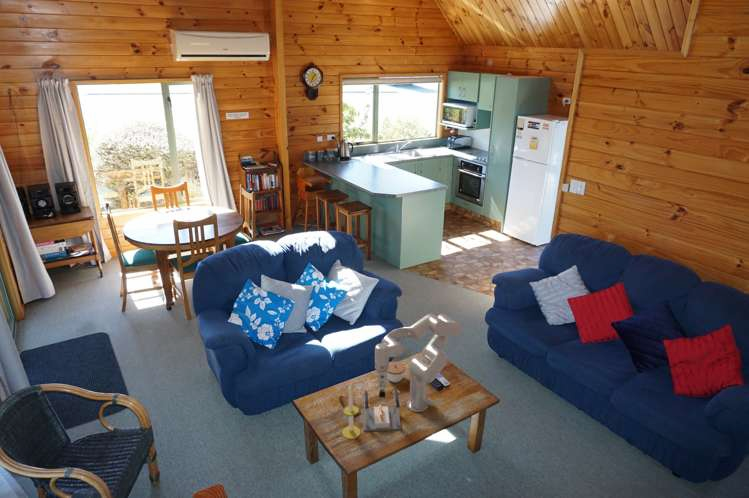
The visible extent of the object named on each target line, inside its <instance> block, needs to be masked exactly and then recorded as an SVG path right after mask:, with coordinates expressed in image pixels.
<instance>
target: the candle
mask: <svg viewBox="0 0 749 498" xmlns="http://www.w3.org/2000/svg"><path fill="white" fill-rule="evenodd" d="M353 393H354V392H353V386H352V383H350V384H349V386H348V397H349V405H347V406H345V407H343V409H342V412H343V413H344V415H346V416H348V415H349V416H348V426H346V427H345V428H343V430H342V436H343V437H344V438H346V439H349V440H352V439H353V440H354V439H357V438H358V437H360V436H361V429H360V428H359V427H358V426H356V425H354V422H355V421H354V418H355V417H353V415H355V414H357V413H358V411H359V410H360V409H359V407H358V405H357V406H355V405H353V399H354V398H353V397H354V396H353V395H354V394H353Z"/></svg>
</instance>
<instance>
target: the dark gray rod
mask: <svg viewBox="0 0 749 498" xmlns="http://www.w3.org/2000/svg"><path fill="white" fill-rule="evenodd" d="M394 393H395V398H396V406H397V408H399V407H400V402H399V401H400V400H399V394H398V390H397V389H394ZM400 408H401V407H400Z"/></svg>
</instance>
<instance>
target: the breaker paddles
mask: <svg viewBox="0 0 749 498" xmlns="http://www.w3.org/2000/svg"><path fill="white" fill-rule="evenodd" d="M378 407H379V409H380V418H381V420H382V419H383V415H382V407H383V406H382V404H379V405H378Z"/></svg>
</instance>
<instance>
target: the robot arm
mask: <svg viewBox="0 0 749 498" xmlns="http://www.w3.org/2000/svg"><path fill="white" fill-rule="evenodd" d="M461 330H462V327H461V324H460V323H459V322H457V321H455V320H454V319H452V318H451V317H449V315H446V314H444V313H440V314H438V315H436V314H433V313H427V314H426V315H424V316H423V317H422V318H420V319H418V320H417V321H416V322H415V323H413V324H411V325H409V326H404V327H403V326H402V327H400V328H399V327H397V328H395V329H393V330H391V331H390V332H388V333H387V334H386V335H385V336H384V337H383V338H382V340H381V343H377V344H376V345H375V347H374V368H375V371H376V374H377V375H376V379H377V383H378V384H377V387H378V388H379V391H378V393H379V394H378V396H379V398H386V388H387V387H388V378H387V370H388V369H389V362H390V358H396V357H397V358H398V357H400V356H402V355H403V354H404V352H405V348H404V345H403V344H402V343H400V342H399V340H402V339H411V340H420V339H422V338H423V337H424V336H426V335H427V334H428V333H430V332H432V333H433V336H432V337H431V338H430V340H429V341H428V342H427V344H426V345H425V346H424V348H423V349H422V352H421V353H422V356H423V357H424V358H425V359H426V360H427V361H428V362H427V361H426V360H424V359H423V358H421V357H418V356H416V357H412V358H411V360H410V361H409V364H408V371H409V378H410V379H409V381H410V382H409V398H408V400H407V401H406V407H407V409H409V410H410V411H411V412H415V413H421V412H425V411H426V410H427V409H428V408H429V405H434V404H435V403H434V400H432V397H427V384H430V383H432V382H433V381H434V380H436V378H437V377H438V376H439V374H440V373H441V372H442V370H443V369H444V368H445V366H446V365H447V363H448V360H449V357H448V354H447V353H446V352H445V351H444V348H445V346H446V345H447V343H448V341H449V338H455V337H457V336H458V335H460V333H461ZM429 363H430V364H429Z"/></svg>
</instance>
